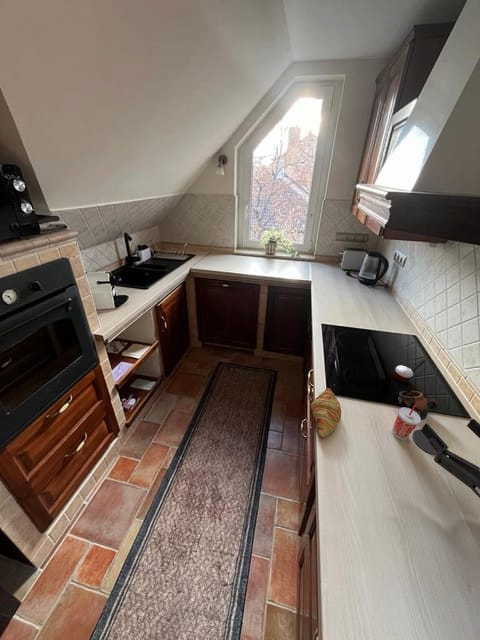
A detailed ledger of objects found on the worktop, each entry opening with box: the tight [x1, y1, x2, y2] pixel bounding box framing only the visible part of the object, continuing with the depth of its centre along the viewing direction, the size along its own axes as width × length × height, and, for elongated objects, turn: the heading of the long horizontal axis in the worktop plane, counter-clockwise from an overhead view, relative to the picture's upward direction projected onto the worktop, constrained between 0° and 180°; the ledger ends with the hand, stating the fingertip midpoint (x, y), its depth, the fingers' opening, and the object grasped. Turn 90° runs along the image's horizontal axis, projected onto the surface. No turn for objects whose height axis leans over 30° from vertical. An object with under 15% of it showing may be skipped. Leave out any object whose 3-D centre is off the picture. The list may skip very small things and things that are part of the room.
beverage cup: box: [391, 403, 422, 441], centre depth 80 cm, size 6×6×14 cm
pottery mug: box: [397, 390, 439, 421], centre depth 91 cm, size 12×10×8 cm
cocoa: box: [390, 357, 428, 383], centre depth 102 cm, size 10×6×12 cm, turn 54°
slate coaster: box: [412, 429, 437, 456], centre depth 81 cm, size 9×9×1 cm
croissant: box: [310, 387, 342, 439], centre depth 88 cm, size 21×10×8 cm, turn 160°
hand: (447, 424), depth 66 cm, fingers open, 13 cm apart
